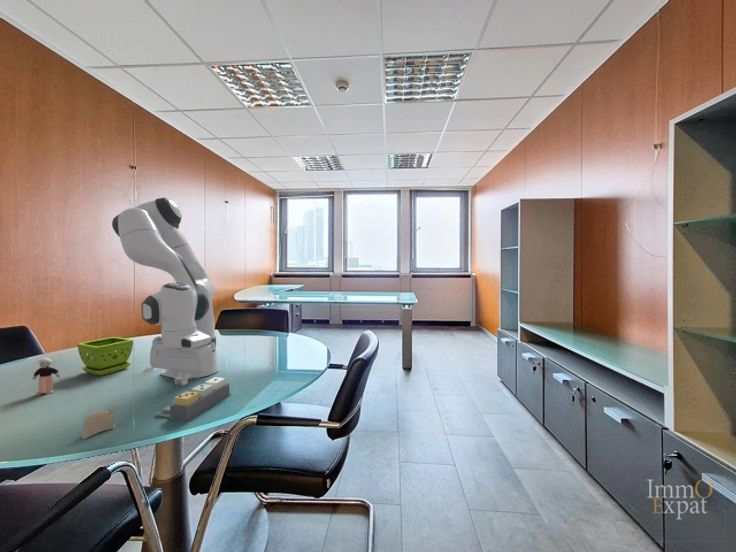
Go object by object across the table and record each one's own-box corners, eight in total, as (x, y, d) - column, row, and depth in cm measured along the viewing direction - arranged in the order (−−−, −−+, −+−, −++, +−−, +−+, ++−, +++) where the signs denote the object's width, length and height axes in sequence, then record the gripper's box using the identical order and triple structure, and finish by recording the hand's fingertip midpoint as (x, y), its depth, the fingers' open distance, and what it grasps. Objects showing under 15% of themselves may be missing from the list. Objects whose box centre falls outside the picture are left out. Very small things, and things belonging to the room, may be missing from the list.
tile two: (191, 400, 96) (190, 388, 96) (201, 394, 100) (201, 383, 100) (202, 401, 95) (202, 390, 95) (213, 395, 99) (212, 384, 99)
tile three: (174, 409, 90) (174, 396, 90) (186, 402, 94) (186, 390, 94) (187, 410, 89) (186, 398, 89) (198, 403, 93) (198, 392, 93)
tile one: (205, 392, 102) (205, 381, 101) (215, 386, 106) (214, 376, 106) (216, 393, 101) (216, 382, 100) (225, 388, 105) (225, 377, 105)
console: (155, 416, 91) (155, 403, 91) (201, 391, 108) (201, 380, 108) (188, 421, 88) (188, 407, 88) (230, 394, 105) (230, 383, 105)
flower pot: (97, 379, 120) (95, 347, 119) (77, 374, 125) (75, 343, 124) (135, 367, 133) (134, 338, 132) (115, 363, 138) (114, 335, 137)
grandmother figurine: (28, 397, 103) (26, 360, 103) (34, 393, 107) (32, 357, 106) (59, 393, 107) (57, 357, 106) (63, 389, 110) (62, 354, 110)
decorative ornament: (79, 434, 81) (78, 415, 81) (118, 421, 88) (117, 403, 88) (82, 439, 79) (81, 419, 79) (122, 425, 86) (122, 407, 85)
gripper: (142, 338, 90) (144, 384, 90) (198, 342, 84) (200, 391, 85) (162, 333, 96) (164, 376, 97) (215, 337, 90) (217, 383, 91)
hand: (181, 383), depth 91 cm, fingers closed
